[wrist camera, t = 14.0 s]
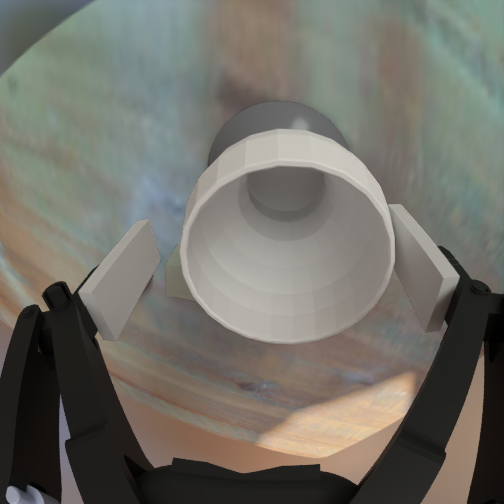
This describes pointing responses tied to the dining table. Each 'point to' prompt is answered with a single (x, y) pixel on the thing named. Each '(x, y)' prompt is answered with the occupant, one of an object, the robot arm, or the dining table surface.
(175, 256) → the block
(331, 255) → the cup
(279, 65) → the dining table surface
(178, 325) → the dining table surface
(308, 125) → the coaster
